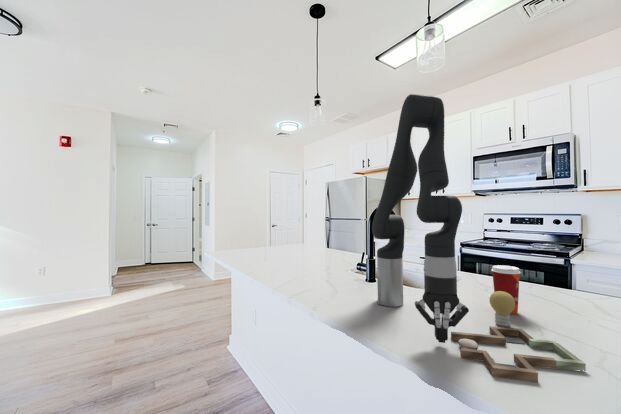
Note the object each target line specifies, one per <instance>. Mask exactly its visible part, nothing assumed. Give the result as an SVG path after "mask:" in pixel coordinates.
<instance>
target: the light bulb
mask: <svg viewBox="0 0 621 414" xmlns="http://www.w3.org/2000/svg"><path fill="white" fill-rule="evenodd" d="M489 304H490V306H491V308H492V309H493V310H494V312H495V313H494V321H495V324H497V325H498V326H499V327H505V328H508V327H509V326H510V325H511V314H510V313H511V312H512V311H513V310H514V308H515V300H514V298H513V297H512V296H511V295H510V294H509V293H507V292H503V291H496V292H494V291H493V292H492V293H491V294H490V297H489Z"/></svg>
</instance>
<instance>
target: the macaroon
mask: <svg viewBox="0 0 621 414" xmlns="http://www.w3.org/2000/svg"><path fill="white" fill-rule="evenodd" d="M478 345H479V344H478V343H476V342H475V341H473V340H470V339H460V340H459V341H458V346H459V347H460V348H464V349H474V350H479V346H478Z"/></svg>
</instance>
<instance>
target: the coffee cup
mask: <svg viewBox="0 0 621 414" xmlns="http://www.w3.org/2000/svg"><path fill="white" fill-rule="evenodd" d="M491 268H492V269H491V272H492V281H493V293H494V292H496V291H503V292H507V293H509V294H510V295H511V296H512V297H513V298H514V300H515V308H514V310H513V311H512V312H511V313H510V314H509V315H510V316H511V315H513V316H514V315H517V314H518V311H519V298H520V297H519V295H520V293H519V292H520V291H519V290H520V275H521V274H522V272H521V271H520V268H519V267H516V266H511V265H504V264H502V265H501V264H500V265H499V264H497V265H492V267H491Z"/></svg>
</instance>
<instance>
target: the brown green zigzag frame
mask: <svg viewBox="0 0 621 414" xmlns="http://www.w3.org/2000/svg"><path fill="white" fill-rule="evenodd" d="M489 333H490V334H482V333H471V332H459V331H450V339H451V341H456V342H457V341H458V342H459V340H460V339H470V340H473V341H475V342H476V343H477V344H487V345H495V346H497V345H498V346H507V343H509V344H520V345H527V346H528V347H529V348H531V349H535V350H536V349H537V350H549V351H553V352H554V353H556V354H557V355H558V356H559V357H560V358H558V357H551V356H540V355H530V354H522V353H521V354H520V353H513V362H514V364H509V363H508V364H507V363H500V362H499V363H497V362H496V361H495V360H494V359H493V358H492V356H491V355H490V354H489V352H488V351H487V350H483V349H481V350H480V349H477V350H474V349H464V348H461V347H460V349H459V350H460V352H459V353H460V357H461V359H463V360H473V361H482V362H483V363H484V365H485V366H486V368H487V369H488V371H489V372H490V373H491V375H492V377H494V378H501V379H502V378H503V379H510V380H517V381H518V380H519V381H526V382H533V383H534V382H535V383H538V382H539V373H538V371H536V369H535V368H545V369H551V370H552V369H554V370H561V369H562V370H563V371H570V370H580V371H583V370H584V371H586V372H587V367H586V362H584V361H583V360H581V359H580V358H579V357H577V356H576V355H574V354H573V353H572V352H570V351H569V350H568V349H567V348H565V347H564V346H563V345H561V344H560V343H559V342H557V341H556V340H549V339H548V340H547V339H536V338H535V339H534V338H533V336H531V334H529V333H528V332H526V331H525V329H523V328H517V327H504V326H492V325H491V326H489ZM515 364H516V365H515ZM534 367H535V368H534ZM562 370H561V371H562Z"/></svg>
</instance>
